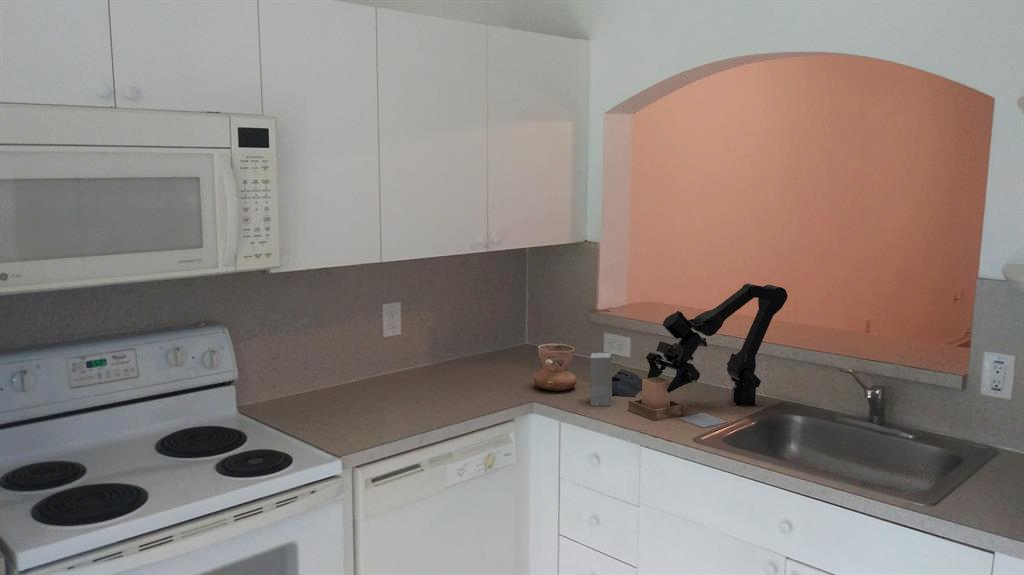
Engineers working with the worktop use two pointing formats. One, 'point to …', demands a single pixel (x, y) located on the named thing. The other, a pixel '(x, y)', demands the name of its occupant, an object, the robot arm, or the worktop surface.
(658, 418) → the brown wooden tray
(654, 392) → the lidded terracotta box
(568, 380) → the brown clay vase
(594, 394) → the skincare box
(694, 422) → the rubber mat
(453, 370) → the worktop surface
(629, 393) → the dark slate chunk
